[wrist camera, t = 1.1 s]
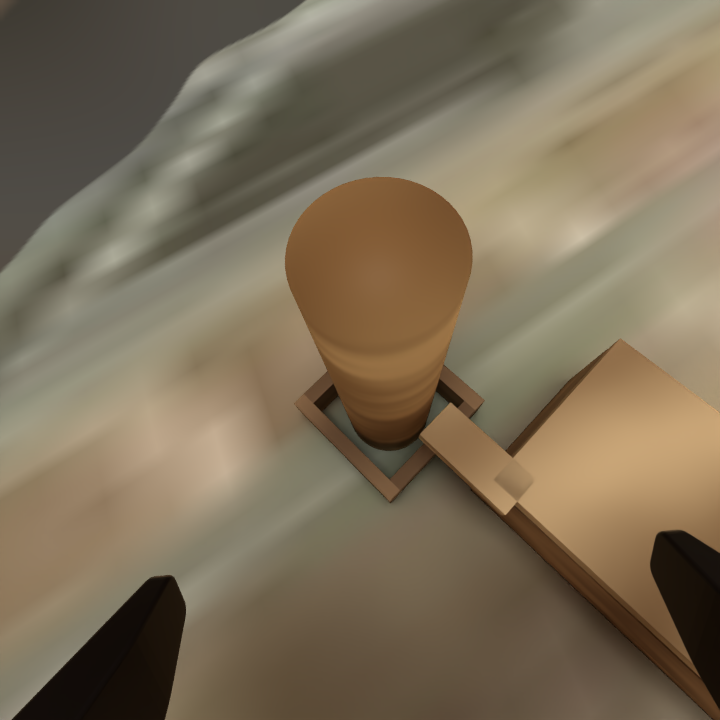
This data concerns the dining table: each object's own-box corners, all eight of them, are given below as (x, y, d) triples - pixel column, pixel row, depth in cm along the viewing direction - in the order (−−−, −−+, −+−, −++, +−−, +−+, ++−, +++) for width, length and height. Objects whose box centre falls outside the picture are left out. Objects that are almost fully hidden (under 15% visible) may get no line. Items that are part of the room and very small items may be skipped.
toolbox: (869, 620, 18) (999, 648, 14) (723, 842, 17) (826, 943, 13) (442, 277, 24) (451, 229, 20) (302, 413, 23) (282, 390, 19)
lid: (1012, 650, 14) (1186, 687, 11) (882, 876, 13) (1038, 990, 10) (550, 300, 19) (581, 256, 16) (418, 437, 17) (423, 419, 14)
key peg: (443, 411, 22) (512, 249, 9) (389, 467, 22) (379, 381, 8) (387, 361, 23) (376, 148, 10) (334, 412, 23) (247, 259, 9)
